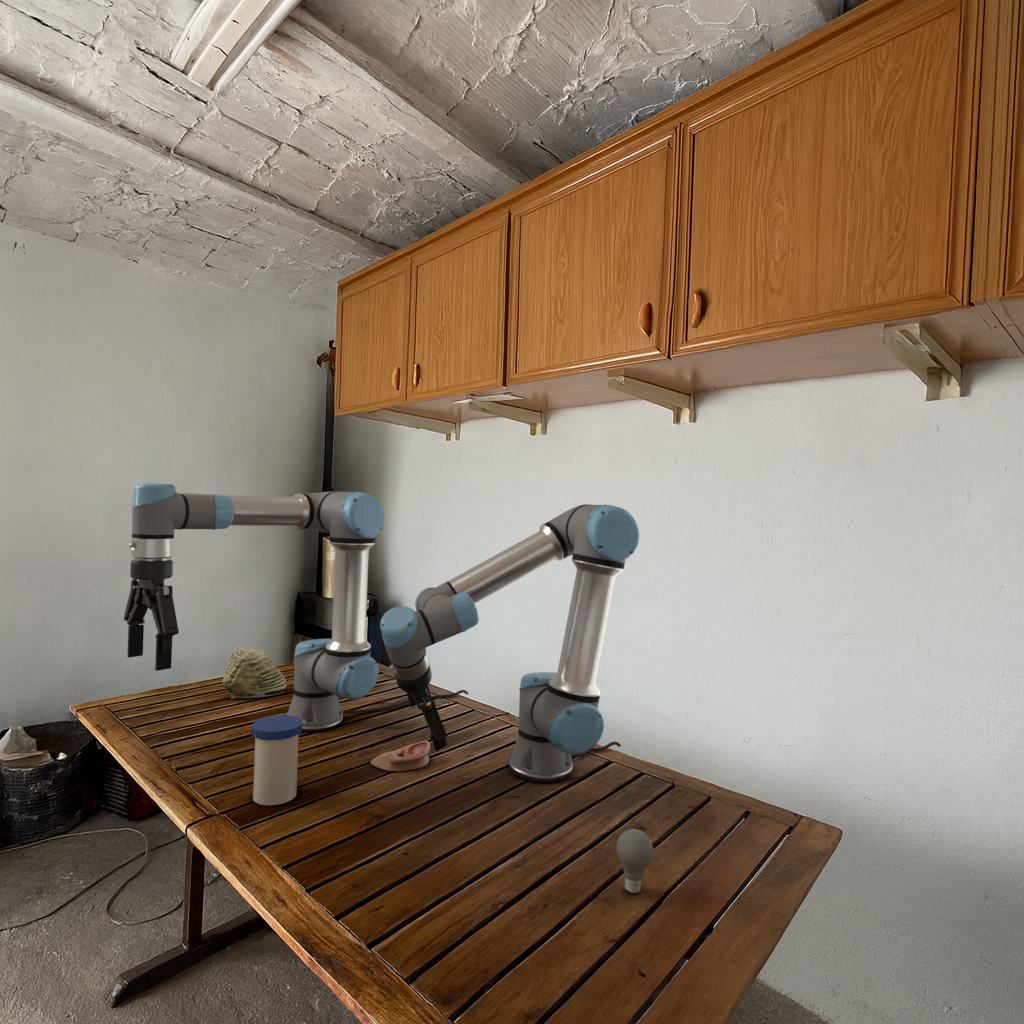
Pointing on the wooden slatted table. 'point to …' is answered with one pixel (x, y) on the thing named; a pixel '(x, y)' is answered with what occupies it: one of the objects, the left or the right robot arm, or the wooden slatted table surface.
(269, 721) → the lid
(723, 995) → the wooden slatted table surface
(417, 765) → the anatomical model
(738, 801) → the wooden slatted table surface
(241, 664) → the fossil
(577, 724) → the right robot arm
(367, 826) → the wooden slatted table surface
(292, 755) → the jar
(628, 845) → the light bulb
